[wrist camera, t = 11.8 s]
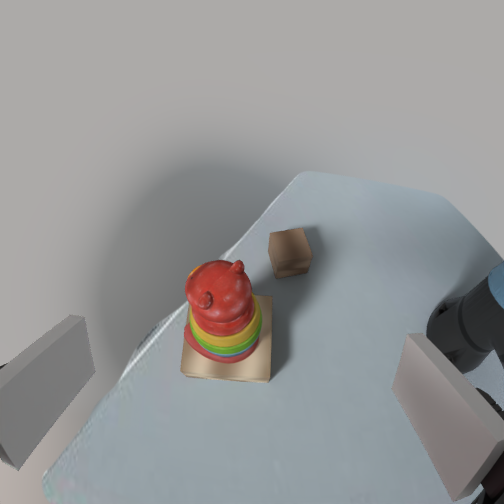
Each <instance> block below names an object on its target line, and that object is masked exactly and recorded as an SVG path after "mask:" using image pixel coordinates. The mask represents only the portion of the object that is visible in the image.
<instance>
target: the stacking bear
mask: <svg viewBox="0 0 504 504" xmlns="http://www.w3.org/2000/svg"><path fill="white" fill-rule="evenodd" d="M185 292H186V296H187V299H188V301H189V303H190V305H191V309H190V322H189V323H188V324H187V325H186V326H185V328H184V330H185V332H184V338H185V340H186V341H187V342H188V344H189V345H190V346H191V347H192V348H193V349H194V350H195V351H197V352H198V353H199V354H201V355H202V356H204V357H206V358H208V359H210V360H213V361H216V362H220V363H227V364H230V363H237V362H240V361H242V360H244V359H246V358H247V357H249V356H250V355H251V354H252V353H253V352H254V350H255V349H256V347H257V345H258V342H259V335H260V332H261V328H262V313H261V309H260V306H259V303H258V301H257V299H256V297H255V295H254V294H253V292H252V287H251V283H250V280H249V278H248V276H247V275H246V273H245V272H244V264H243V262H242V261H240V260H238V261H236V262H234V264H233V263H231V262H229V261H225V260H216V261H211V262H207V263H205V264H203V265H200V266H198V267H196V268H195V269H194V270H193V271H192V272H191V273H190V275H189V276H188V279H187V281H186V285H185Z"/></svg>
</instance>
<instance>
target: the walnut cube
mask: <svg viewBox="0 0 504 504" xmlns="http://www.w3.org/2000/svg"><path fill="white" fill-rule="evenodd" d="M268 253H269V256H270V260H271V263H272V267H273V270H274V274H275V277H276V279H278V278H283V277H288V276H293V275H298V274H304V273H307V272H308V269H309V266H310V263H311V260H312V257H313V255H312V252H311V249H310V247H309V244H308V241H307V238H306V236H305V233H304V230H303V228H298V229H292V230H285V231H279V232H273V233H270V238H269V248H268Z"/></svg>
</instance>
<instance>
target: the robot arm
mask: <svg viewBox="0 0 504 504" xmlns="http://www.w3.org/2000/svg"><path fill="white" fill-rule="evenodd" d="M494 349H495V351H496V353H497V355H498V357H499V359H500V361H501V364H502V366H503V368H504V261H503V262H502V263H501V264H500V265H499V266H496V267H495V268H493V269H492V271H491V272H490V274H489V275H488V276H487V277H486V278H485V279H484V280H483V281H482V282H480V283H479V284H478V285H477V286H476V287H475V288H473V289H472V290H471V291H470V292H469V293H468V294H467V295H465V296H462V297H458V298H454V299H450V300H448V301H446V302H444V303H442V304H441V305H440V306H439V307H438V308H436V309H435V310H434V312H433V313H432V315H431V316H430V318H429V321H428V325H427V337H426V336H425V335H424V334H423V333H415V334H407V336H406V340H405V344H404V348H403V352H402V355H401V359H400V362H399V366H398V369H397V373H396V376H395V379H394V382H393V386H392V391H393V392H394V394H395V396H396V397H397V399H398V401H399V403H400V404H401V406H402V408H403V410H404V411H405V413H406V415H407V417H408V418H409V420H410V422H411V424H412V426H413V427H414V429H415V431H416V433H417V435H418V436H419V438H420V440H421V442H422V444H423V445H424V447H425V449H426V451H427V453H428V455H429V457H430V458H431V460H432V462H433V464H434V466H435V468H436V470H437V472H438V474H439V476H440V478H441V480H442V481H443V483H444V485H445V487H446V489H447V491H448V493H449V495H450V497H451V499H452V501H453V502H454V501H457V500H459V499H462V498H464V497H467V496H469V495H471V494H472V493H473V492H474V491H475V489H476V488H477V487H478V486H479V484H480V483H481V484H482V486H483V488H484V489H483V491H482V492H481V493H480V494H479V495H478V496H477V497H476V499H475V500H474V501H473V502H472V503H471V504H476V503H477V504H504V411H502V409H501V407H500V406H499V405H498V404H496V402H495V401H494V400H493V399H492V398H491V396H490V395H489V394H487V393H486V392H484V391H482V390H481V389H479V388H475V387H474V386H473V385H472V384H471V383H470V382H469V381H468V380H467V379H466V378H465V377H464V376H463V375H462V374H465V373H467V372H469V371H472V370H473V369H475V368H476V367H478V366H479V365H480V364H481V363H482V361H483V360H484V359H485V358H486V357H487V356H488V354H489V353H490V352H491V351H492V350H494ZM94 373H95V368H94V364H93V359H92V354H91V349H90V344H89V339H88V334H87V328H86V323H85V317H81V316H75V315H69V316H68V317H67V318H66V319H64V320H63V321H62V322H60V323H59V324H57V325H56V326H55V327H54V328H52V329H51V330H50V331H48V332H47V333H46V334H44V335H43V336H42V337H41V338H39V339H38V340H37V341H35V342H34V343H33V344H31V345H30V346H29V347H28V348H26V349H25V350H24V351H23V352H21V353H20V354H19V355H18V356H17V357H15V358H14V359H13V360H12V361H10V362H9V363H7V364H4V365H2V366H0V458H1V460H2V461H3V462H4V463H5V464H7V465H9V466H10V467H12V468H14V469H16V470H17V471H19V469H20V468H21V466H22V465H23V464H24V462H25V461H26V460H27V459H28V457H29V456H30V454H31V453H32V452H33V450H34V449H35V448H36V446H37V445H38V444H39V442H40V441H41V440H42V439H43V437H44V436H45V435H46V433H47V432H48V431H49V429H50V428H51V427H52V426H53V424H54V423H55V422H56V420H57V419H58V418H59V417H60V415H61V414H62V413H63V412H64V410H65V409H66V408H67V407H68V405H69V404H70V403H71V402H72V400H73V399H74V398H75V396H76V395H77V394H78V393H79V392H80V390H81V389H82V388H83V387H84V385H85V384H86V383H87V382H88V381H89V379H90V378H91V377H92V375H93V374H94Z"/></svg>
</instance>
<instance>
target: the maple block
mask: <svg viewBox="0 0 504 504" xmlns="http://www.w3.org/2000/svg"><path fill="white" fill-rule="evenodd" d="M255 297H256V299H257V301H258V303H259V306H260V309H261V313H262V328H261V332H260V335H259V342H258V345H257V347H256V349H255V350H254V352H253V353H252V354H251V355H250V356H249V357H247V358H246V359H244V360H242V361H240V362H237V363H230V364H227V363H220V362H216V361H213V360H210V359H208V358H206V357H204V356H202V355H201V354H199V353H198V352H197V351H195V350H194V349H193V348H192V347H191V346H190V345H189V344H188V342H187V341H186V340H185V338H184V344H183V352H182V360H181V369H180V371H181V372H182V373H183V374H184V375H185V376H186V377H193V378H203V379H214V380H227V381H243V382H265V383H268V382H269V379H270V368H271V335H272V296H258V295H255ZM190 309H191V305H190V303H189V308H188V315H187V322H186V325H187V324H188V323H189V322H190Z"/></svg>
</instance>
